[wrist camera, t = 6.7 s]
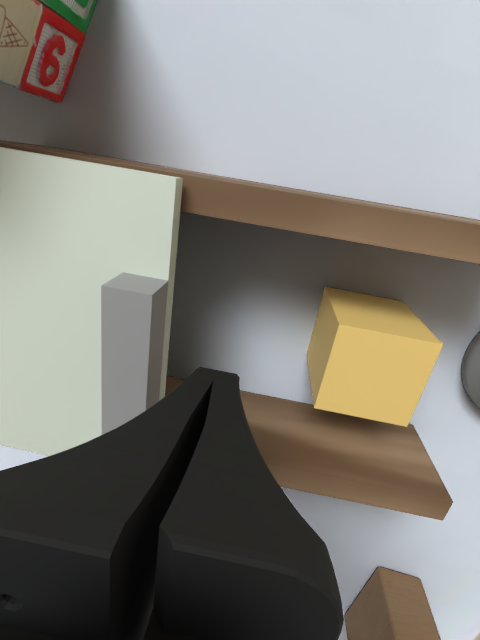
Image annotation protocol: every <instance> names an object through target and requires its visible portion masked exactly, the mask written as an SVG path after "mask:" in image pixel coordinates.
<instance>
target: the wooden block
mask: <svg viewBox="0 0 480 640" xmlns="http://www.w3.org/2000/svg"><path fill="white" fill-rule="evenodd" d="M345 622H346V629H347V636H348V640H441V639H440V636H439V633H438V630H437V627H436V624H435V621H434V618H433V615H432V612H431V609H430V606H429V603H428V600H427V597H426V594H425V591H424V588H423V585H422V582H421V580H420V579H419V578H416V577H413V576H410V575H406V574H403V573H400V572H396V571H393V570H390V569H386V568H383V567H377V569H376V570H375V572H374V573H373V575H372V576H371V578H370V579H369V581H368V582H367V583H366V585H365V586H364V588H363V589H362V591H361V592H360V594H359V595H358V597H357V598H356V600H355V601H354V602H353V604H352V605H351V607H350V608H349V609H348V611H347V612H346V614H345Z"/></svg>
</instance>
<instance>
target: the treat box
mask: <svg viewBox="0 0 480 640" xmlns="http://www.w3.org/2000/svg"><path fill="white" fill-rule="evenodd" d="M0 147H4V148H10V149H16V150H22V151H28V152H34V153H39V154H45V155H51V156H57V157H63V158H69V159H74V160H80V161H86V162H92V163H98V164H104V165H110V166H115V167H121V168H127V169H133V170H139V171H145V172H150V173H156V174H162V175H168V176H174V177H180V178H183V184H182V196H181V208H180V211H181V212H187V213H193V214H198V215H204V216H210V217H215V218H221V219H227V220H232V221H238V222H244V223H249V224H255V225H261V226H267V227H272V228H278V229H284V230H289V231H295V232H301V233H306V234H312V235H318V236H323V237H329V238H335V239H341V240H346V241H352V242H358V243H363V244H369V245H375V246H380V247H386V248H392V249H397V250H403V251H409V252H414V253H420V254H426V255H432V256H437V257H443V258H449V259H454V260H460V261H466V262H471V263H477V264H480V220H476V219H470V218H464V217H458V216H452V215H446V214H440V213H434V212H429V211H423V210H417V209H411V208H405V207H399V206H393V205H387V204H381V203H376V202H370V201H364V200H358V199H352V198H346V197H340V196H334V195H329V194H323V193H317V192H311V191H305V190H299V189H293V188H287V187H282V186H276V185H270V184H264V183H258V182H252V181H246V180H240V179H235V178H229V177H223V176H217V175H211V174H205V173H199V172H193V171H187V170H182V169H176V168H170V167H164V166H158V165H152V164H146V163H140V162H135V161H129V160H123V159H117V158H111V157H105V156H99V155H93V154H88V153H82V152H76V151H70V150H64V149H58V148H52V147H46V146H40V145H33V144H25V143H17V142H8V141H0ZM183 381H185V379H179V378H174V377H169V376H166V388H165V396H166V395H168V394H169V393H170V392H171V391H173V390H174V389H175V388H176V387H178V386H179V385H180V384H181V383H182V382H183ZM240 395H241V400H242V405H243V408H244V412H245V415H246V419H247V422H248V425H249V427H250V430H251V433H252V435H253V438H254V440H255V442H256V445H257V447H258V449H259V451H260V453H261V455H262V457H263V459H264V461H265V463H266V464H267V466H268V468H269V470H270V472H271V473H272V475H273V476H274V478H275V480H276V481H277V483H278V484H279V486H281V487H286V488H290V489H295V490H300V491H305V492H310V493H314V494H319V495H324V496H329V497H333V498H338V499H343V500H348V501H352V502H357V503H362V504H367V505H372V506H376V507H381V508H386V509H391V510H395V511H400V512H405V513H410V514H414V515H419V516H424V517H429V518H434V519H438V520H443V519H444V517H445V516H446V514H447V512H448V510H449V509H450V507H451V505H452V503H453V501H452V499H451V497H450V495H449V493H448V491H447V490H446V488H445V486H444V484H443V482H442V480H441V478H440V476H439V474H438V472H437V470H436V468H435V466H434V464H433V463H432V461H431V459H430V457H429V455H428V453H427V451H426V449H425V447H424V445H423V443H422V441H421V439H420V438H419V436H418V434H417V432H416V430H415V428H414V426H413V425H412V424H408V426H407V427H405V426H400V425H395V424H390V423H385V422H380V421H375V420H370V419H366V418H361V417H356V416H351V415H346V414H341V413H336V412H331V411H326V410H321V409H316V408H314V405H311V404H306V403H301V402H296V401H291V400H286V399H280V398H275V397H270V396H265V395H260V394H255V393H250V392H245V391H240Z"/></svg>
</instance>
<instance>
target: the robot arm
mask: <svg viewBox="0 0 480 640" xmlns="http://www.w3.org/2000/svg"><path fill="white" fill-rule="evenodd" d="M343 620H344V619H343V612H342V603H341V597H340V593H339V589H338V584H337V580H336V577H335V573H334V569H333V566H332V562H331V559H330V556H329V553H328V550H327V547H326V544H325V543H324V542H323V541H322V539H321V538H320V537H319V536H318V535H317V534H316V533H315V531H314V530H313V529H312V528H311V527H310V526H309V525H308V523H307V522H306V521H305V520H304V519H303V518H302V517H301V515H300V514H299V513H298V511H297V510H296V509H295V507H294V506H293V505H292V503H291V502H290V501H289V499H288V498H287V497H286V495H285V493H284V492H283V490H282V489H281V487H280V486H279V484H278V483H277V481H276V480H275V478H274V476H273V475H272V473H271V472H270V470H269V468H268V466H267V464H266V463H265V461H264V459H263V457H262V455H261V453H260V451H259V449H258V447H257V445H256V442H255V440H254V438H253V435H252V433H251V430H250V427H249V425H248V422H247V419H246V415H245V412H244V408H243V405H242V400H241V395H240V389H239V376H238V375H237V374H234V373H228V372H223V371H218V370H212V369H207V368H202V367H200V368H198V369H196V370H195V371H194V372H193V373H192V374H191V375H190V376H189V377H188V378H187V379H186V380H185V381H183V382H182V383H181V384H180V385H179V386H178V387H176V388H175V389H174V390H173V391H171V392H170V393H169V394H168V395H166V396H165V397H164V398H163V399H161V400H160V401H158V402H157V403H156V404H154V405H153V406H151V407H150V408H149V409H147V410H146V411H144V412H143V413H141V414H140V415H138V416H136V417H135V418H133V419H132V420H130V421H128V422H126V423H125V424H123V425H121V426H119V427H117V428H116V429H114V430H111V431H109V432H107V433H105V434H103V435H101V436H99V437H96V438H94V439H92V440H90V441H88V442H86V443H83V444H81V445H78V446H76V447H73V448H71V449H68V450H65V451H63V452H60V453H57V454H54V455H51V456H49V457H46V458H43V459H39V460H36V461H33V462H29V463H26V464H23V465H19V466H16V467H12V468H9V469H5V470H2V471H0V640H338V638H339V635H340V633H341V630H342V625H343Z"/></svg>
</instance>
